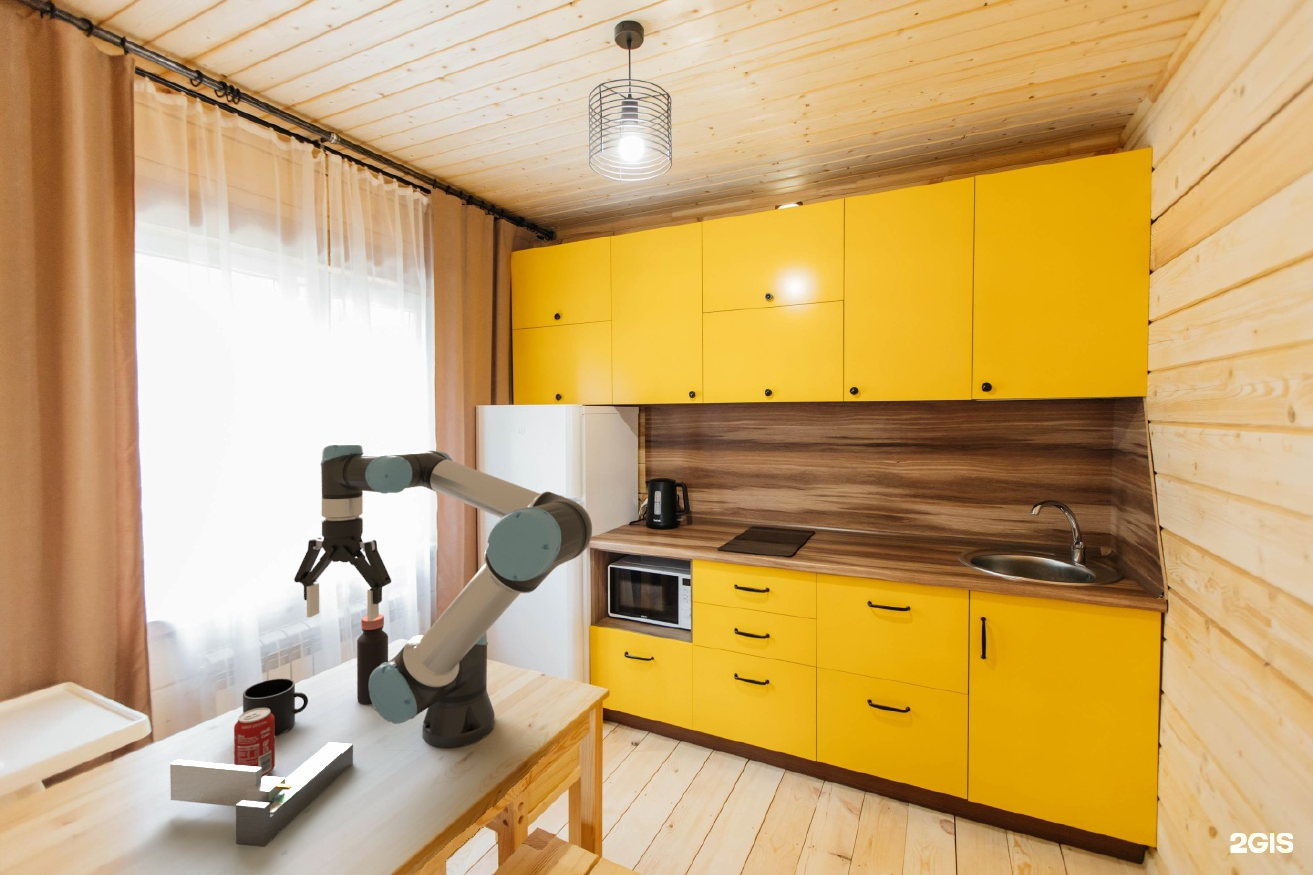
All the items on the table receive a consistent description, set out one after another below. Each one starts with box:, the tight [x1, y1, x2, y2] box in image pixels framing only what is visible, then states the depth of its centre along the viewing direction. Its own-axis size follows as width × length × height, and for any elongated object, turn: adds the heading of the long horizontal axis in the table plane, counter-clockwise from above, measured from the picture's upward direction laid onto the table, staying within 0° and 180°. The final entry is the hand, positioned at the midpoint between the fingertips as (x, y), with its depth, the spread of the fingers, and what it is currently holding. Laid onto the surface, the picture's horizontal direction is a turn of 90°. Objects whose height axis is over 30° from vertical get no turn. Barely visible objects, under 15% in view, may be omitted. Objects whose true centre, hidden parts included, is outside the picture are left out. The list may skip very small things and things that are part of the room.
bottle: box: [356, 613, 389, 705], centre depth 138 cm, size 7×7×20 cm
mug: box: [242, 678, 309, 737], centre depth 125 cm, size 9×12×9 cm
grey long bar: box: [235, 741, 354, 848], centre depth 102 cm, size 5×22×6 cm, turn 174°
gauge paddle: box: [169, 759, 292, 807], centre depth 97 cm, size 22×4×6 cm, turn 84°
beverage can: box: [233, 708, 276, 777], centre depth 108 cm, size 6×6×12 cm
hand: (342, 617), depth 119 cm, fingers open, 13 cm apart
